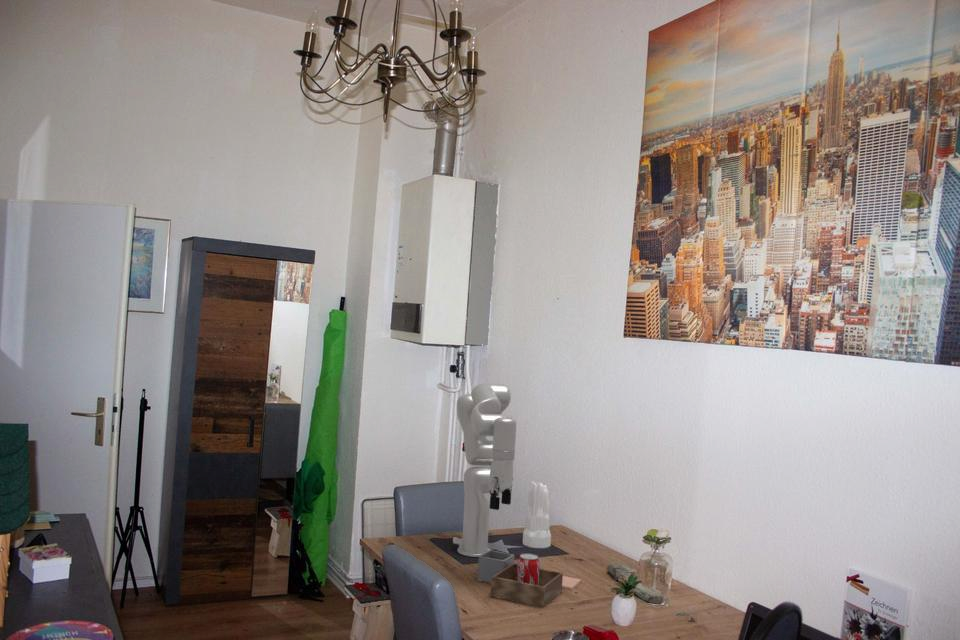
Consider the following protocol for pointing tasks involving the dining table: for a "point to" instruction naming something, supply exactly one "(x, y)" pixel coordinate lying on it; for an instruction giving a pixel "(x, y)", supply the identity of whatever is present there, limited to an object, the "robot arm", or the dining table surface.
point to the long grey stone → (641, 591)
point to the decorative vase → (537, 518)
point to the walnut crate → (527, 586)
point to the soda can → (528, 569)
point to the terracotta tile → (570, 582)
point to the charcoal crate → (493, 564)
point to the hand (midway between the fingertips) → (500, 506)
